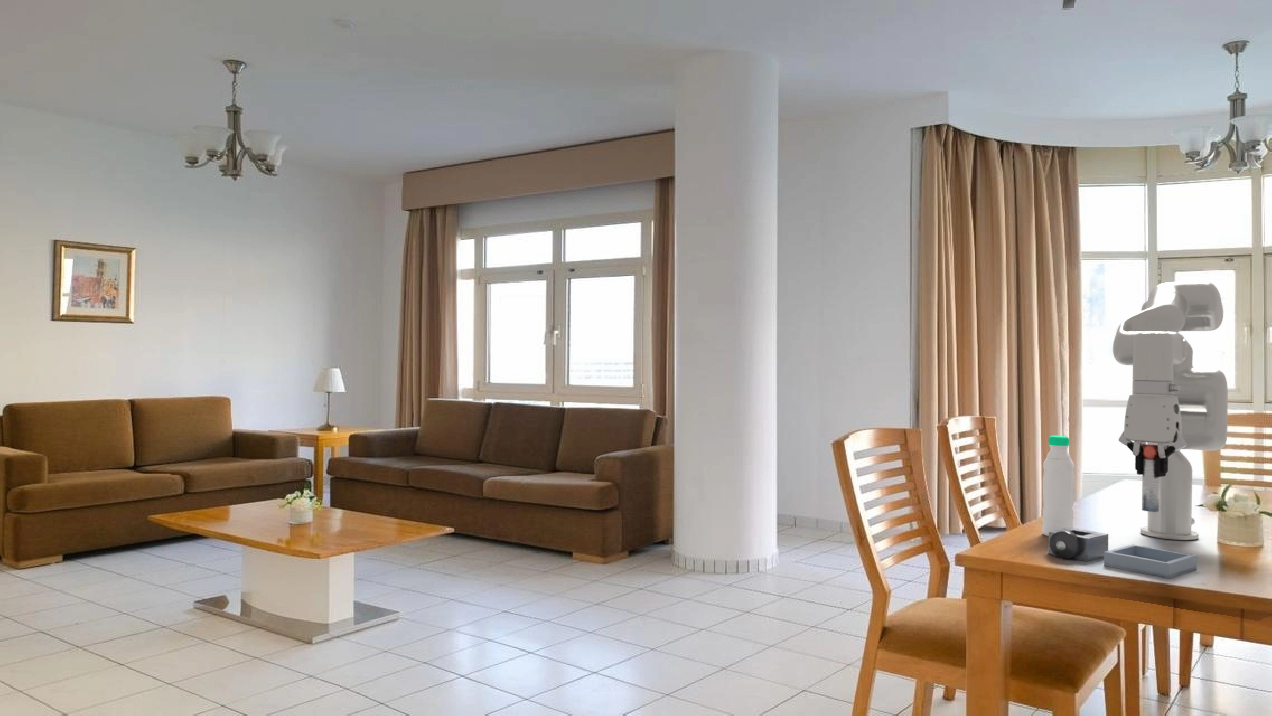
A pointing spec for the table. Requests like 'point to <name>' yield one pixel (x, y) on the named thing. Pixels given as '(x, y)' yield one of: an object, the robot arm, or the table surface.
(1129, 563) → the tray
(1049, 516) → the water bottle
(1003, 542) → the table surface
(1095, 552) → the tensioner block
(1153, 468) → the pin
